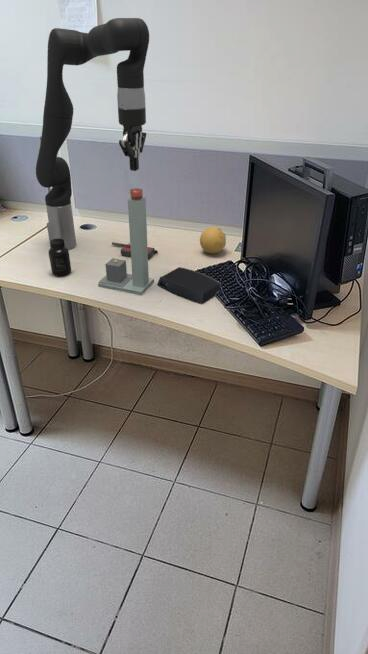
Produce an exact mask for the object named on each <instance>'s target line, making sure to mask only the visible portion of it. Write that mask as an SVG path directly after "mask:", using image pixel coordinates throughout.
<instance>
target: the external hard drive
mask: <svg viewBox="0 0 368 654" xmlns="http://www.w3.org/2000/svg"><path fill="white" fill-rule="evenodd" d="M156 286H157V287H159V288H160V289H162V290H164V291H167V292H168V293H171V294H172V295H175V296H177V297H180V298H181V299H185V300H186V301H190V302H193V303H195V304H196V303H197V304H198V305H204V304H205V303H206V302H208V301H210V300H211V299H213V298H215V297H216V296H215V294H216V292H217V291H218V290H219V289H220V287H222V286H223V285H222V284H221V282H219V281H218V280H216V279H215V278H212V277H211V276H208V275H207V274H204V273H201V272H198V271H196V270H192V269H189V268H186V267H181V266H179V267H176V268H175V269H173V270H171V271H168V273H166V274H164V275H162V276H160V277H159V279H158V282H157V284H156ZM222 288H223V287H222Z"/></svg>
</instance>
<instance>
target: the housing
mask: <svg viewBox="0 0 368 654" xmlns="http://www.w3.org/2000/svg"><path fill="white" fill-rule="evenodd" d="M104 265H105V276H106V275H107V280H108V281H113V282H118V283H121V282H122V281H123V280H124V279H125V278H126V277H127V274H128V272H127V260H125V259H119V258H114V257H112V258H111V259H110V260H109V261H107V262H106V263H105V264H104Z"/></svg>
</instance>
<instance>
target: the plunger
mask: <svg viewBox="0 0 368 654" xmlns="http://www.w3.org/2000/svg"><path fill="white" fill-rule="evenodd" d="M129 194H130V195H129V196H130V198H133V199H134V200H140V198H142V197H143V195H144V194H143V189H142V188H137V187H136V188H131V189H130V191H129Z"/></svg>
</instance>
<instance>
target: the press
mask: <svg viewBox="0 0 368 654" xmlns="http://www.w3.org/2000/svg"><path fill="white" fill-rule="evenodd" d="M146 202H147V200H146V197H142V198H140V200H134V199H133V198H131V197H130V198H128V199H127V209H128V211H127V212H128V229H129V243H130V247H131V258H130V262H131V273H127V277H126V278H125V279H124V280H123V281H122V282H121V283H118V282H113V281H108V280H107V275H106V274H105V276H104V277H102V278H101V279H100V280H99V281H98V282H97V286H98V287H100V288H104V289H109V290H113V291H117V292H123V293H127V294H128V293H129V294H133V295H137V296H142V295H143V294H144V293H145V292H146V291H147V290H148V289H149V288H150V287H151V286H152V285H153V284H154V283H155V279H154V278H152V277H149V260H148V248H147V247H148V226H147V225H148V223H147V203H146Z"/></svg>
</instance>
